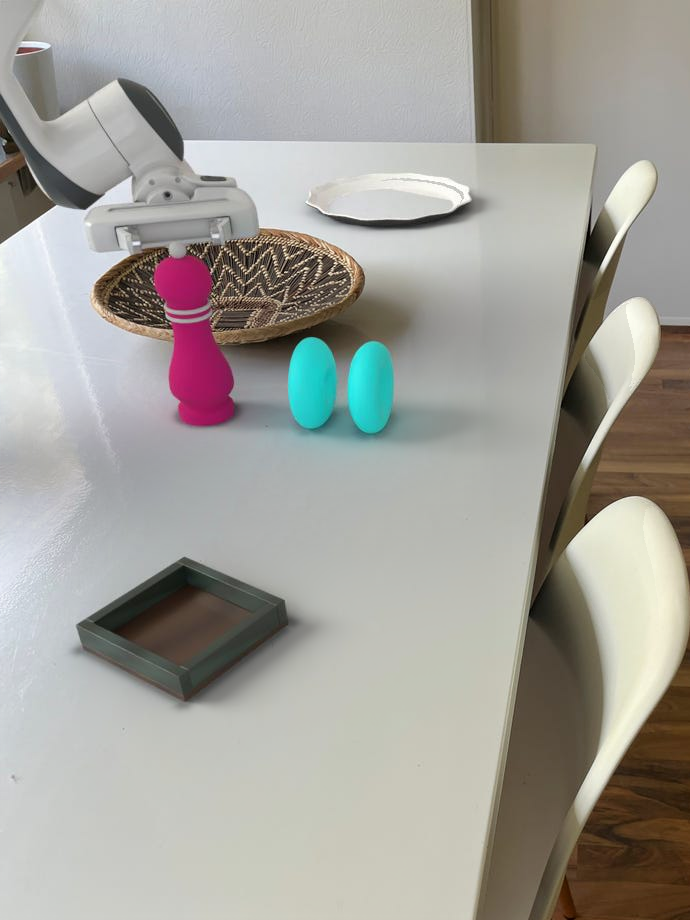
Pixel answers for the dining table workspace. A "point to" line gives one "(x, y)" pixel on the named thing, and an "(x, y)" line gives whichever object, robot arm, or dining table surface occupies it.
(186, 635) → the square tray
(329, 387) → the donuts
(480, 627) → the dining table surface
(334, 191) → the plate
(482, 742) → the dining table surface
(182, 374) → the pepper mill
